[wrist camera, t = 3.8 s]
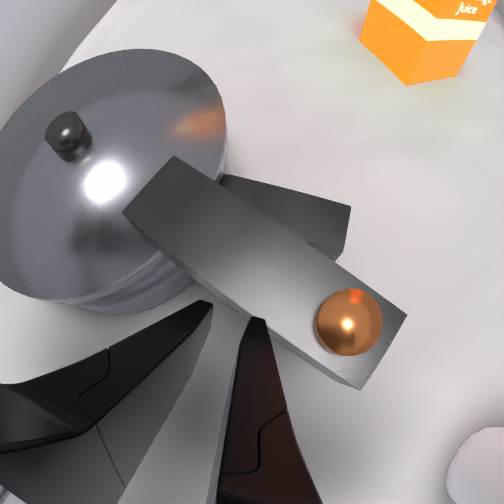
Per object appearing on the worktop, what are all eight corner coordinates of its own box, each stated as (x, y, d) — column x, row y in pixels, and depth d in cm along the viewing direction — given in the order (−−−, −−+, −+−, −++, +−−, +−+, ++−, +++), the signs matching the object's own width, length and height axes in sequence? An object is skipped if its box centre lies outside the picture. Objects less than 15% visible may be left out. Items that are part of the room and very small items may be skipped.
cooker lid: (232, 496, 10) (222, 553, 6) (-39, 200, 15) (-79, 171, 10) (427, 211, 14) (476, 164, 10) (109, 43, 18) (92, -2, 14)
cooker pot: (295, 378, 18) (312, 390, 12) (-5, 263, 20) (-54, 240, 14) (344, 161, 22) (367, 107, 16) (69, 113, 24) (41, 71, 18)
